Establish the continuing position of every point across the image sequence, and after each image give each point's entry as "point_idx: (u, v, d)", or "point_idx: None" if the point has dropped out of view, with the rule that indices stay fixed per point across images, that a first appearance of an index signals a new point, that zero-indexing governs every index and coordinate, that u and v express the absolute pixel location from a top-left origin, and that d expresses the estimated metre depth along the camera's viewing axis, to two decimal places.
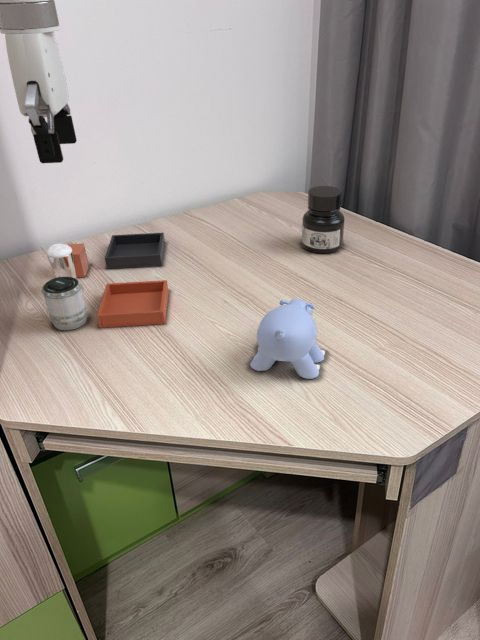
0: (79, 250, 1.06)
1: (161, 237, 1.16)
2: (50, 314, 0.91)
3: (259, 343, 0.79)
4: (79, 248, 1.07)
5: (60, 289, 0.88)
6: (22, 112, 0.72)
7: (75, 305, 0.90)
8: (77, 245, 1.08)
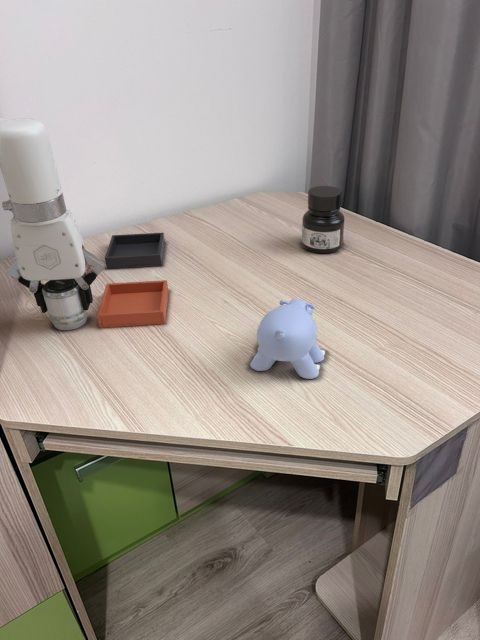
0: None
1: (161, 237, 1.16)
2: (50, 314, 0.91)
3: (259, 343, 0.79)
4: None
5: (60, 289, 0.88)
6: (83, 273, 0.87)
7: (75, 305, 0.90)
8: None
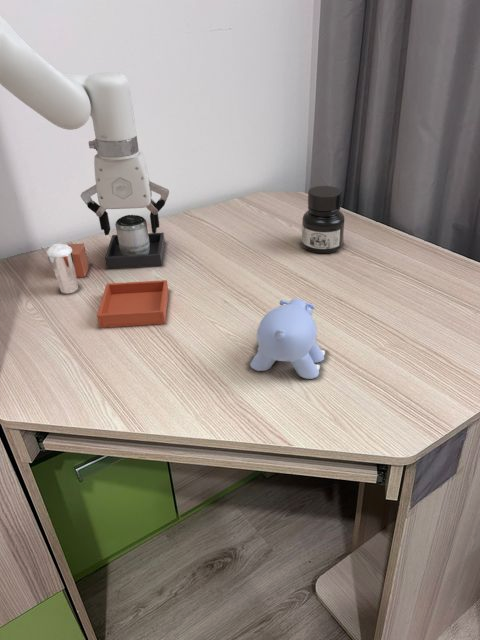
0: (79, 250, 1.06)
1: (161, 237, 1.16)
2: (121, 245, 1.11)
3: (259, 343, 0.79)
4: (79, 248, 1.07)
5: (131, 223, 1.09)
6: (149, 203, 1.06)
7: (142, 237, 1.11)
8: (77, 245, 1.08)
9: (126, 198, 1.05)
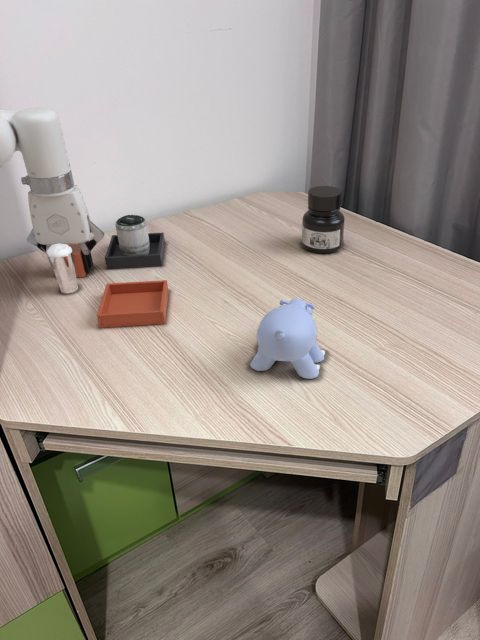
0: (79, 250, 1.06)
1: (161, 237, 1.16)
2: (121, 245, 1.11)
3: (259, 343, 0.79)
4: (79, 248, 1.07)
5: (131, 223, 1.09)
6: (88, 238, 1.03)
7: (142, 237, 1.11)
8: (77, 245, 1.08)
9: (63, 234, 1.02)
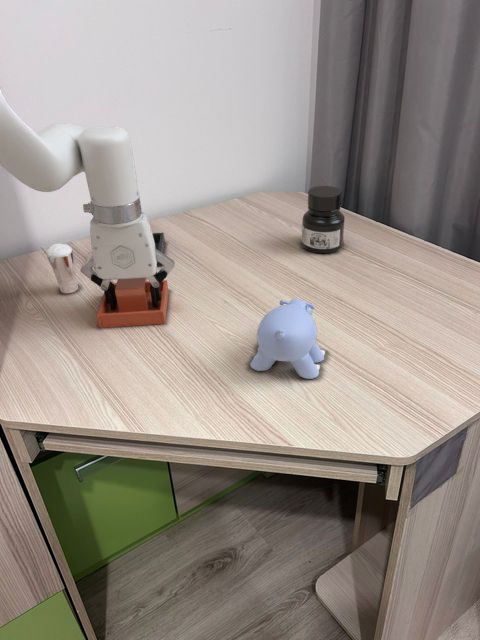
0: (143, 283, 0.94)
1: (161, 237, 1.16)
2: None
3: (259, 343, 0.79)
4: (142, 281, 0.94)
5: None
6: (155, 272, 0.91)
7: None
8: None
9: (128, 268, 0.90)
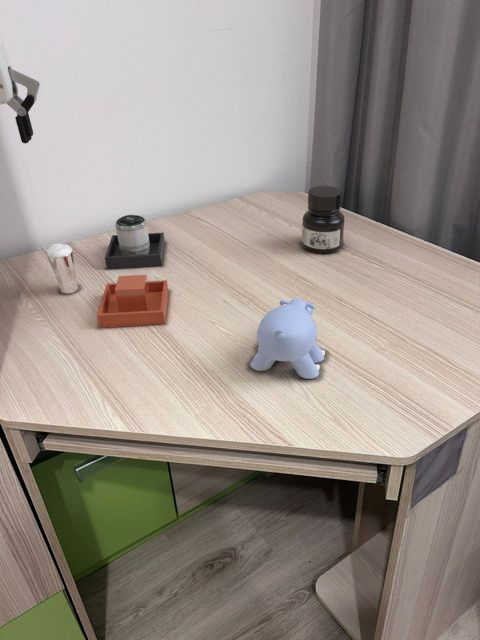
0: (143, 283, 0.94)
1: (161, 237, 1.16)
2: (121, 245, 1.11)
3: (259, 343, 0.79)
4: (142, 281, 0.94)
5: (131, 223, 1.09)
6: (10, 98, 0.79)
7: (142, 237, 1.10)
8: (139, 277, 0.96)
9: None
